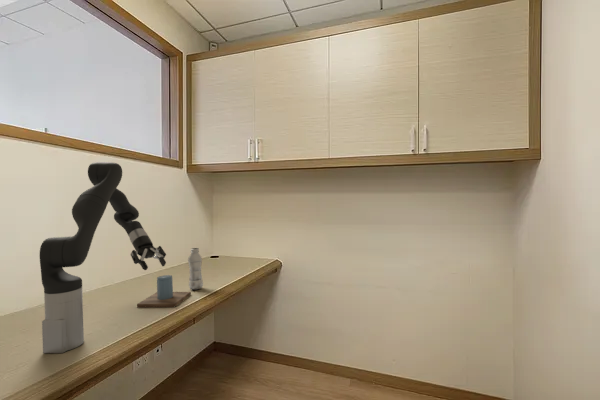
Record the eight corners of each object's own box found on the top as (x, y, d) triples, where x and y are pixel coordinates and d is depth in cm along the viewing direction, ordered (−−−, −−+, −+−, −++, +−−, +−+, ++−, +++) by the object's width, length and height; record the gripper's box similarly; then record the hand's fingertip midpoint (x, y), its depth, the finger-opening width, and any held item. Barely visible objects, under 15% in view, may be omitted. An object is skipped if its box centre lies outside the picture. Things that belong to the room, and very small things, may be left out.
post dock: (175, 307, 126) (174, 287, 126) (137, 307, 126) (136, 288, 126) (190, 294, 142) (190, 277, 142) (156, 295, 142) (156, 278, 142)
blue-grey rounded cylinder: (169, 299, 131) (168, 278, 131) (154, 299, 131) (154, 278, 131) (175, 295, 137) (174, 275, 137) (161, 295, 137) (161, 275, 137)
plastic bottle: (198, 291, 147) (197, 249, 147) (186, 290, 148) (184, 249, 148) (205, 287, 153) (204, 247, 153) (193, 287, 154) (192, 247, 154)
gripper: (128, 236, 136) (143, 264, 130) (157, 233, 148) (173, 258, 142) (122, 247, 139) (136, 275, 133) (151, 243, 151) (166, 269, 145)
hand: (155, 267), depth 138 cm, fingers open, 8 cm apart
